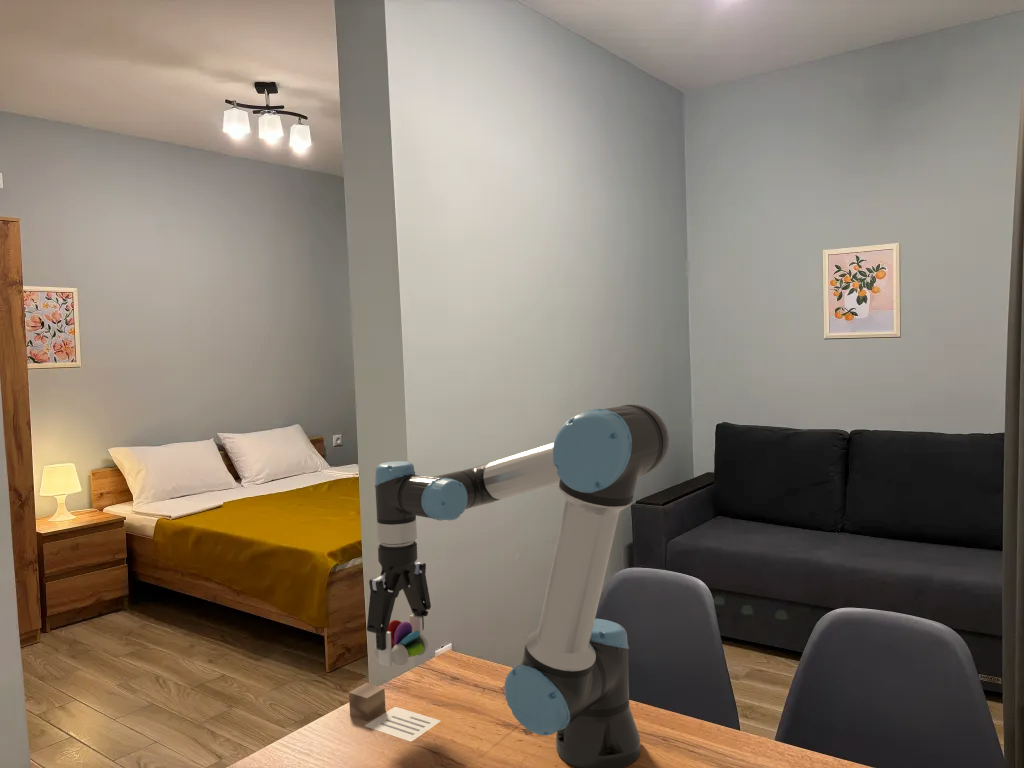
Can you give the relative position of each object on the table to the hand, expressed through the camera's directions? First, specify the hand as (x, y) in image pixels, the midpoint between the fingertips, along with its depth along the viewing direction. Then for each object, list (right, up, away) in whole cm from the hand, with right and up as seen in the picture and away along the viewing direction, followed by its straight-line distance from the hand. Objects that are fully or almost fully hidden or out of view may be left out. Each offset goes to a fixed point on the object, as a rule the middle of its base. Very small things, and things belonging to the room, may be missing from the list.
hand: (401, 656), depth 147 cm
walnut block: (-8, -14, +5) cm, 16 cm away
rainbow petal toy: (0, 0, 0) cm, 0 cm away
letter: (0, -14, 0) cm, 14 cm away
